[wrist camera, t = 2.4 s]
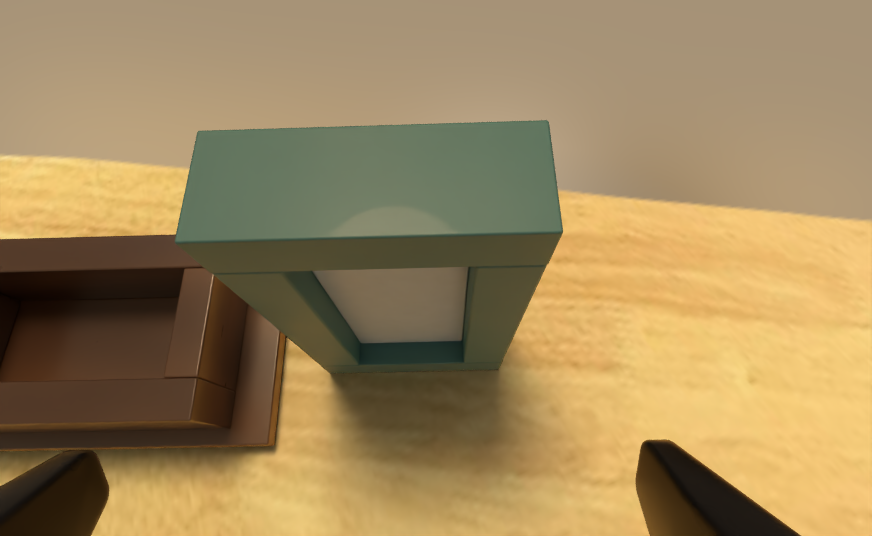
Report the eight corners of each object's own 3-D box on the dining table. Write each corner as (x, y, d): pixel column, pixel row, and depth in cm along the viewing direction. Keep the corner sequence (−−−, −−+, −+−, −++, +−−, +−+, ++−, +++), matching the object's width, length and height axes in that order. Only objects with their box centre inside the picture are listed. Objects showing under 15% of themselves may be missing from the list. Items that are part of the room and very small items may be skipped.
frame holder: (275, 445, 19) (233, 439, 16) (-76, 452, 20) (-197, 448, 16) (294, 259, 22) (263, 217, 19) (-9, 267, 23) (-98, 227, 19)
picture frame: (498, 369, 20) (564, 233, 9) (329, 373, 20) (172, 242, 9) (495, 312, 21) (549, 119, 10) (333, 315, 21) (196, 130, 10)
